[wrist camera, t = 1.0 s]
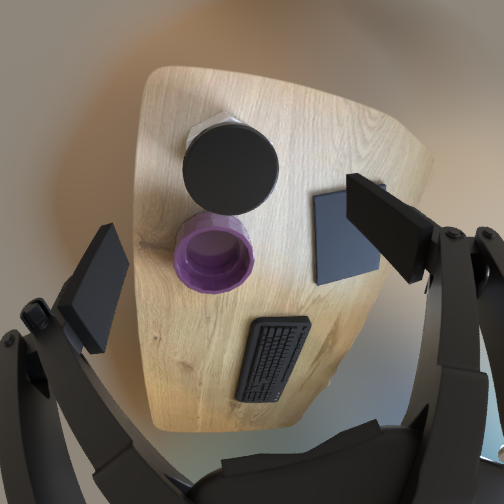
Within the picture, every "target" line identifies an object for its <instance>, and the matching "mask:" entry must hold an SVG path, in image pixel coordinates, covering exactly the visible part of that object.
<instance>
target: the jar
mask: <svg viewBox="0 0 504 504" xmlns="http://www.w3.org/2000/svg"><path fill="white" fill-rule="evenodd" d="M182 171H183V179H184V183H185V186H186V189H187V191H188V193H189V194H190V196H191V197H192V199H193V200H194V201H195V202H196V203H197V204H198V205H199V206H201V207H202V208H204V209H205V210H207V211H209V212H212V213H215V214H219V215H225V216H232V215H240V214H244V213H247V212H249V211H251V210H253V209H255V208H257V207H258V206H260V205H261V204H262V203H263V202H264V201H265V200H266V199H267V198H268V197H269V196H270V194H271V193H272V191H273V190H274V187H275V185H276V183H277V179H278V174H279V163H278V158H277V154H276V152H275V149H274V148H273V143H272V141H270V140H269V139H267V138H266V137H265V136H264V135H262V134H261V133H260V132H258V131H257V130H255V129H254V128H252V127H250V126H249V125H247V124H245V123H244V122H242V121H241V120H239V119H237V118H236V117H234V116H232V115H231V114H229V113H227V112H226V111H223V112H221V113H219V114H217V115H215V116H213V117H211V118H209V119H207V120H205V121H203V122H201V123H200V124H198V125H196V126H194V127H192V128H191V129H190V132H189V135H188V138H187V141H186V153H185V156H184V160H183V169H182Z"/></svg>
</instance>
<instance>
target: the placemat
mask: <svg viewBox="0 0 504 504" xmlns="http://www.w3.org/2000/svg"><path fill="white" fill-rule="evenodd" d="M378 186H379V187H381V188H382V189H384V190H385V191H386V185H385V184H380V185H378ZM313 201H314V219H315V243H316V283H317V286H319V285H323V284H327V283H330V282H334V281H338V280H341V279H345V278H349V277H352V276H356V275H360V274H363V273H367V272H370V271H374V270H377V269H379V261H380V252H379V251H378V250H377V249H376V248H375V247H374V245H373V244H372V243H371V242H370V241H369V240H368V239H367V238H366V237H365V236H364V235H363V234H362V233H361V232H360V231H359V230H358V229H357V228H356V227H355V226H354V225H353V224H352V223H351V222H350V221H349V220H348V219H347V218H346V190H343V191H337V192H332V193H326V194H320V195H315V196H313Z"/></svg>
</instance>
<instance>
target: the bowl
mask: <svg viewBox="0 0 504 504" xmlns="http://www.w3.org/2000/svg"><path fill="white" fill-rule="evenodd" d="M254 261H255V258H254V253H253V247H252V244H251V241H250V238H249V235H248V232H247V230H246V229H245V227H244V226H243V225H242V223H241V222H240V221H239V220H238V219H236V218H235V217H233V216H225V215H219V214H215V213H212V212H209V211H208V212H204V213H199V214H196V215H194V216H193V217H191V218H190V219H188V220H187V221H186V222H184V223H183V225H182V227H181V228H180V230H179V231H178V233H177V235H176V243H175V251H174V260H173V266H174V269H175V271H176V274H177V277H178V278H179V279H180V280H181V281H182V282H183V283H184V284H185V285H186V286H187V287H188V288H191V289H193V290H195V291H197V292H200V293H206V294H219V293H224V292H228V291H231V290H233V289H234V288H236V287H238V286H240V285H241V284H243V282H244V281H245V280H246V279H247V278H248V276H249V275H250V274H251V272H252V268H253V265H254Z"/></svg>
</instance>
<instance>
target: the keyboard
mask: <svg viewBox="0 0 504 504" xmlns="http://www.w3.org/2000/svg"><path fill="white" fill-rule="evenodd" d="M311 325H312V324H311V322H310V320H309V317H308V316H298V317H260V318H257V319H255V320H254V321H253V322H252V324H251V327H250V332H249V336H248V341H247V345H246V350H245V354H244V359H243V363H242V368H241V372H240V376H239V381H238V385H237V390H236V394H235V398H236V400H237V401H239V402H245V403H267V402H277V401H278V400H279V398H280V396H281V394H282V392H283V390H284V388H285V385H286V383H287V381H288V379H289V377H290V375H291V372H292V370H293V368H294V366H295V364H296V361H297V359H298V357H299V354H300V352H301V350H302V347H303V345H304V343H305V340H306V338H307V336H308V333H309V331H310V328H311Z"/></svg>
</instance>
